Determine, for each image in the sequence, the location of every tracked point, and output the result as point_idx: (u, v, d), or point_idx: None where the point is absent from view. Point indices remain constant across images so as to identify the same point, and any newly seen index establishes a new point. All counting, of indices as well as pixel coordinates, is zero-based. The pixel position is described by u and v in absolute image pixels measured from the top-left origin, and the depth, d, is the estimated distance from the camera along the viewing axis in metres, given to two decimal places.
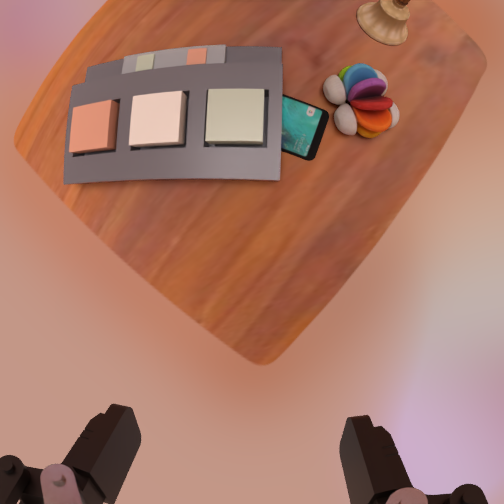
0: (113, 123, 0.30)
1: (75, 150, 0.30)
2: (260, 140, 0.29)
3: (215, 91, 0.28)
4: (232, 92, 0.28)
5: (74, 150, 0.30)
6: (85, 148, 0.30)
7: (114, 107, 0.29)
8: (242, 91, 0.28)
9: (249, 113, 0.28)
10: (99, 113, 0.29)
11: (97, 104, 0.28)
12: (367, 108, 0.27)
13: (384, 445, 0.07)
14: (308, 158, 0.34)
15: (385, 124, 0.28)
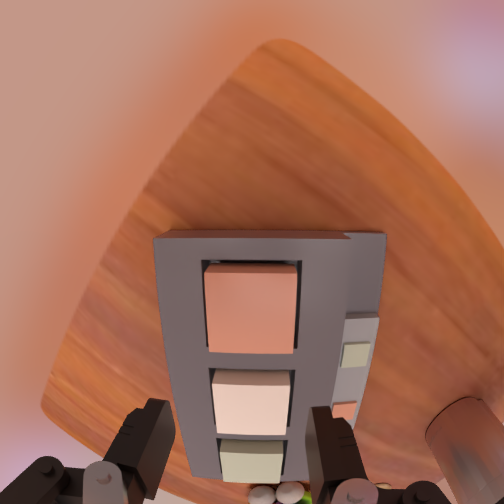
0: None
1: (206, 288, 0.19)
2: (224, 480, 0.24)
3: (279, 458, 0.23)
4: (277, 468, 0.23)
5: (206, 286, 0.19)
6: (208, 311, 0.20)
7: None
8: (277, 473, 0.23)
9: (252, 476, 0.24)
10: (271, 335, 0.20)
11: (290, 329, 0.20)
12: None
13: (343, 436, 0.08)
14: None
15: None
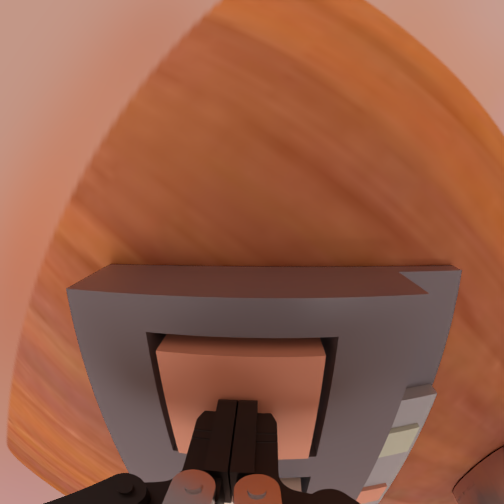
0: None
1: (163, 374, 0.10)
2: None
3: None
4: None
5: (162, 372, 0.10)
6: (171, 406, 0.10)
7: None
8: None
9: None
10: None
11: (306, 432, 0.10)
12: None
13: (265, 431, 0.08)
14: None
15: None
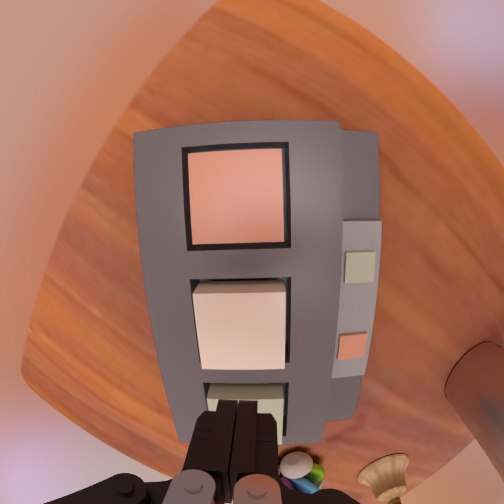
0: None
1: (190, 169, 0.18)
2: None
3: (279, 406, 0.21)
4: (277, 421, 0.21)
5: (190, 167, 0.18)
6: (192, 194, 0.19)
7: None
8: (278, 429, 0.21)
9: None
10: (258, 219, 0.19)
11: (278, 210, 0.19)
12: None
13: (265, 431, 0.08)
14: None
15: None
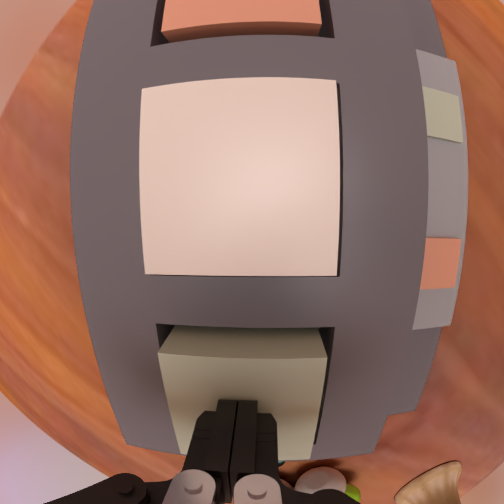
0: None
1: None
2: (182, 451, 0.11)
3: (316, 376, 0.10)
4: (308, 412, 0.10)
5: None
6: None
7: (298, 34, 0.09)
8: (307, 429, 0.10)
9: None
10: None
11: None
12: None
13: (266, 431, 0.08)
14: None
15: None
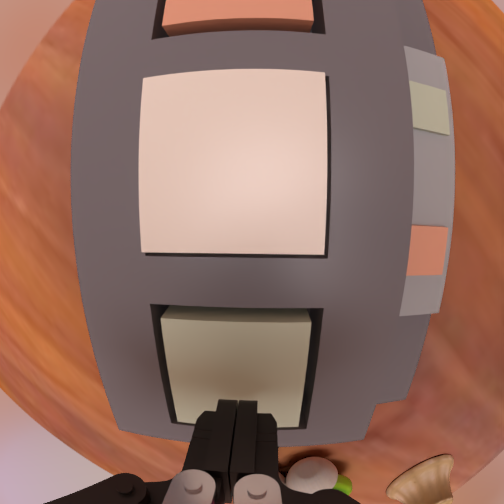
0: None
1: None
2: (179, 418, 0.13)
3: (301, 340, 0.11)
4: (295, 376, 0.12)
5: None
6: None
7: (291, 30, 0.09)
8: (295, 394, 0.12)
9: None
10: None
11: None
12: None
13: (266, 431, 0.08)
14: None
15: None
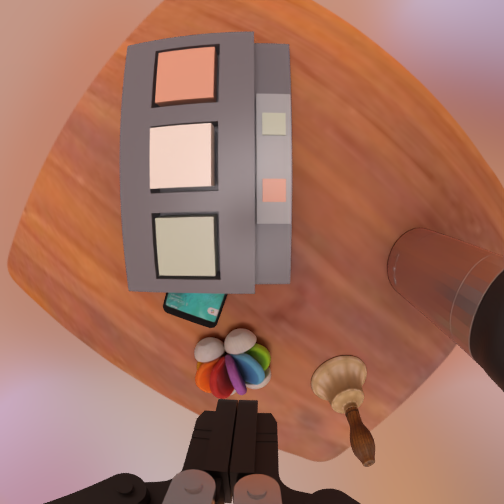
0: (187, 102, 0.27)
1: (159, 61, 0.25)
2: (160, 273, 0.30)
3: (210, 225, 0.28)
4: (209, 243, 0.29)
5: (159, 60, 0.24)
6: (158, 74, 0.25)
7: (206, 100, 0.27)
8: (211, 254, 0.29)
9: (186, 262, 0.29)
10: (197, 84, 0.25)
11: (210, 79, 0.25)
12: (210, 378, 0.31)
13: (266, 431, 0.08)
14: (164, 307, 0.35)
15: (202, 388, 0.32)
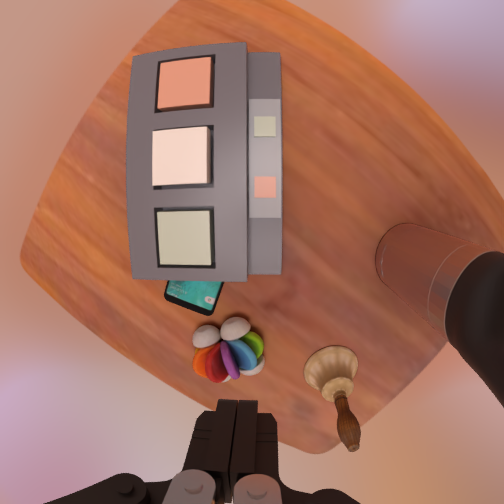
0: (186, 107, 0.30)
1: (161, 70, 0.28)
2: (161, 262, 0.33)
3: (206, 218, 0.31)
4: (205, 235, 0.32)
5: (161, 69, 0.28)
6: (160, 82, 0.28)
7: (204, 106, 0.30)
8: (206, 244, 0.32)
9: (184, 252, 0.32)
10: (195, 92, 0.28)
11: (206, 87, 0.28)
12: (205, 362, 0.33)
13: (265, 431, 0.08)
14: (165, 295, 0.38)
15: (199, 372, 0.35)
